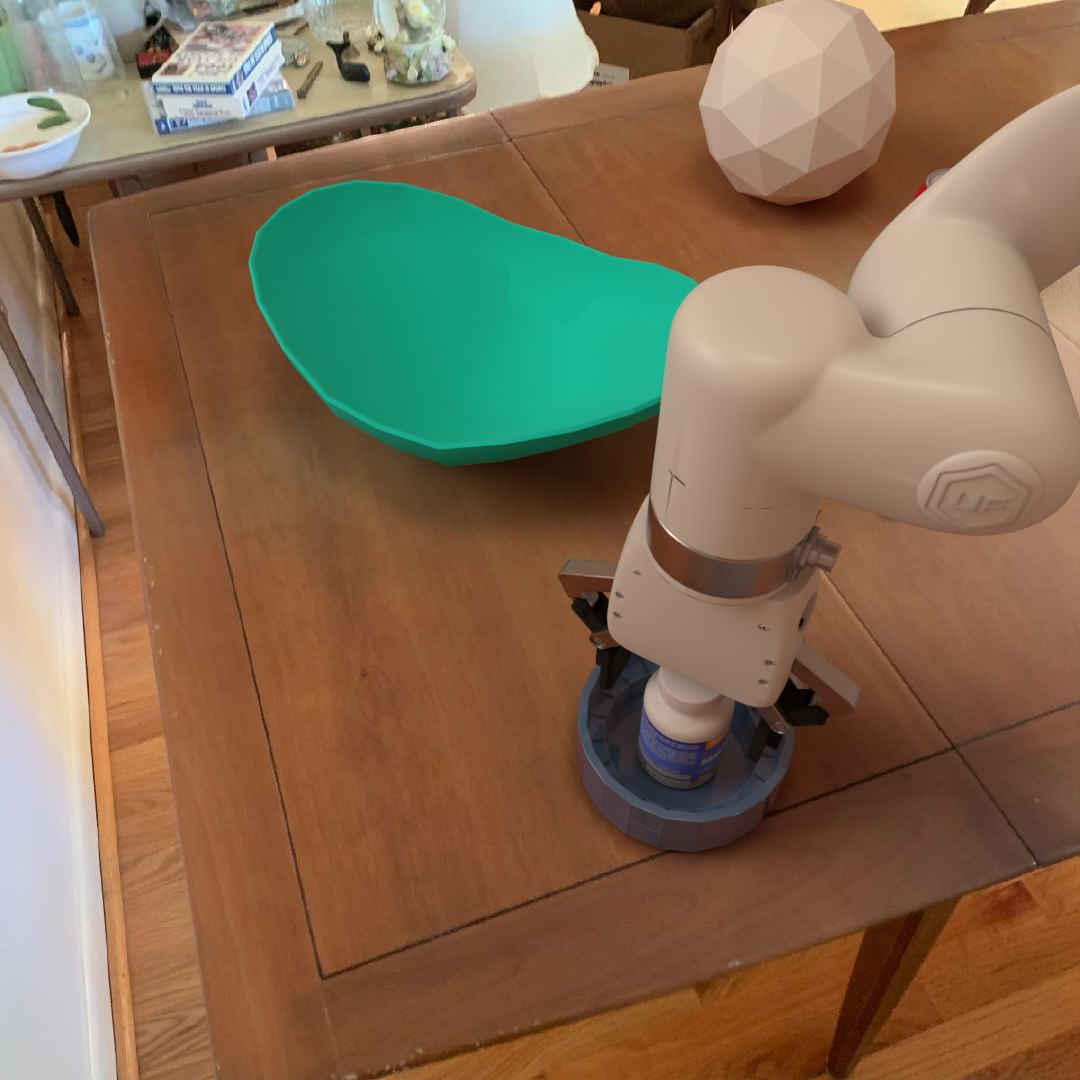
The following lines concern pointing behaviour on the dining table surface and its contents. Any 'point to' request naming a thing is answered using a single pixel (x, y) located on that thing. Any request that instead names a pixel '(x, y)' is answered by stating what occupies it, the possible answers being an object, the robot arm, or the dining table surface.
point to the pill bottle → (682, 730)
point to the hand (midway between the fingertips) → (686, 705)
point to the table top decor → (461, 322)
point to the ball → (799, 100)
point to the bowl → (655, 808)
